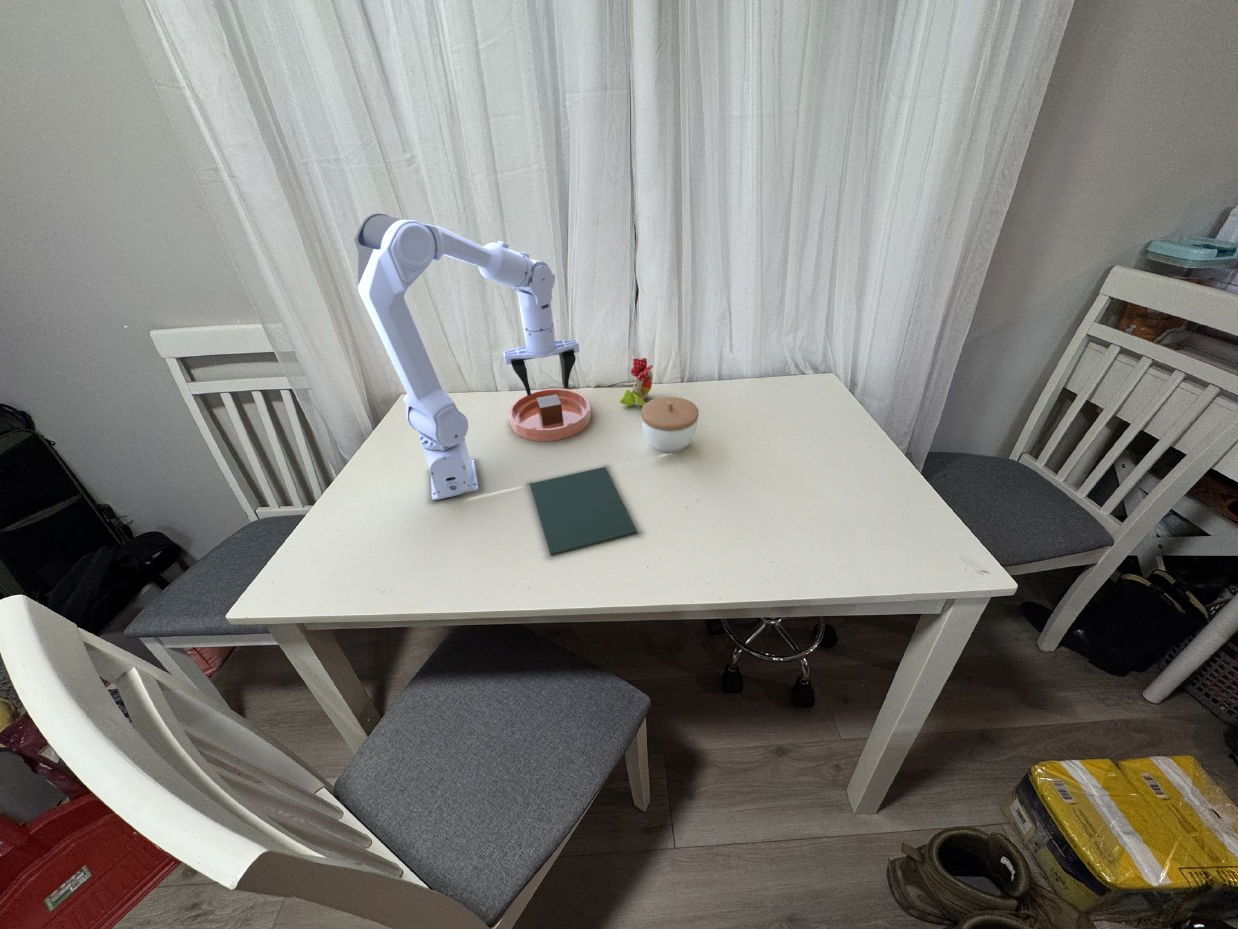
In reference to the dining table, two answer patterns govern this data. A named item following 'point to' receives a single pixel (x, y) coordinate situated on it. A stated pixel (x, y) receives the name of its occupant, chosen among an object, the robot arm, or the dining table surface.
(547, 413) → the block
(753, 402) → the dining table surface
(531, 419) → the round pink tray
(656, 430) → the trinket box
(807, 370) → the dining table surface
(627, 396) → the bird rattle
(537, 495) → the mat
